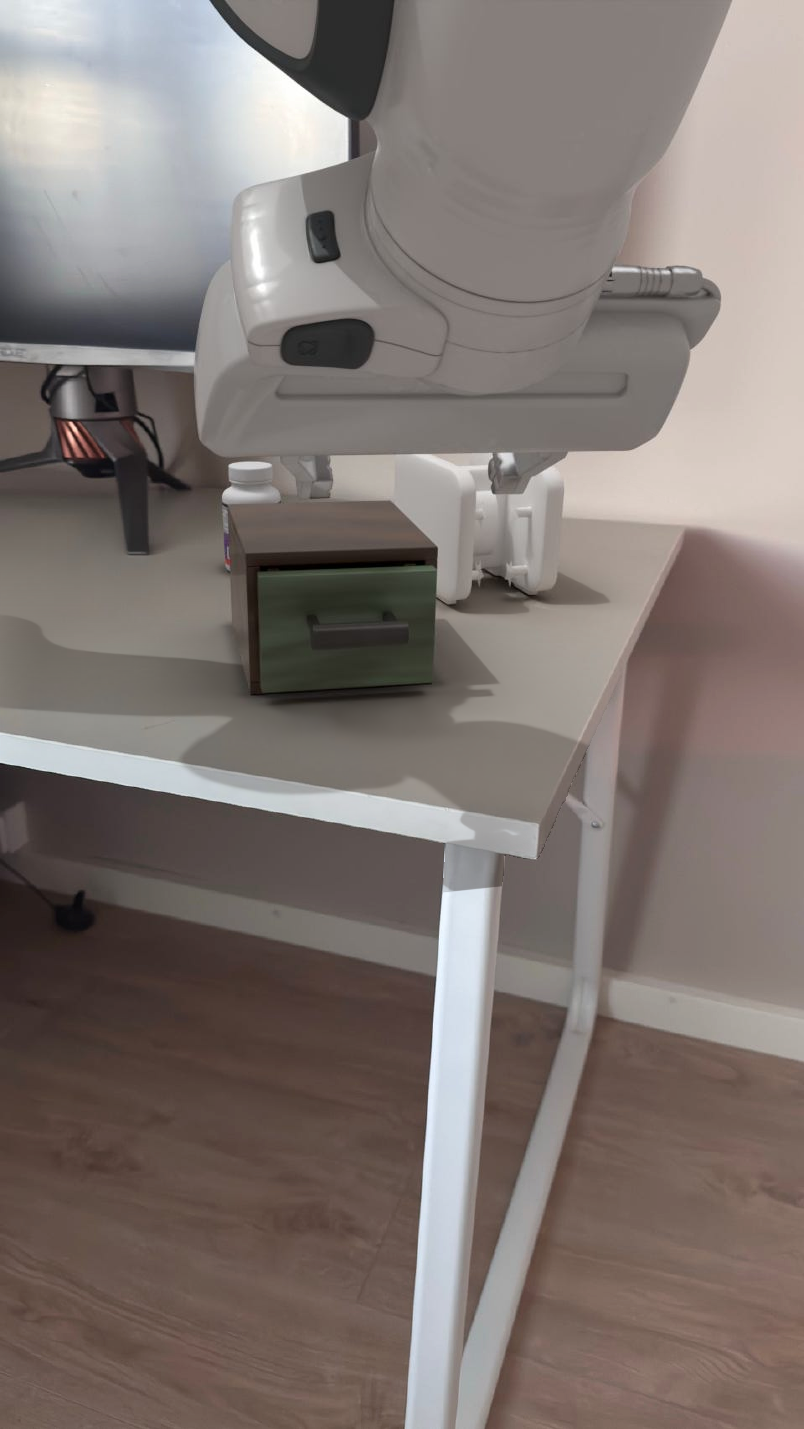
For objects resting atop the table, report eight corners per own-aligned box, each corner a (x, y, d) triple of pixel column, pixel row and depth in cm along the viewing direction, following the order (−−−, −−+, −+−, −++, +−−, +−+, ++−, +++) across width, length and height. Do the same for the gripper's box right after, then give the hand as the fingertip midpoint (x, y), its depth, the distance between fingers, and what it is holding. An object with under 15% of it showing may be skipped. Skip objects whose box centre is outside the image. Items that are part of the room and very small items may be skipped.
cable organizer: (386, 568, 103) (389, 444, 98) (485, 559, 107) (492, 440, 102) (452, 613, 90) (459, 474, 86) (562, 602, 94) (574, 468, 89)
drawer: (449, 707, 69) (455, 588, 66) (269, 719, 67) (266, 596, 64) (390, 620, 85) (392, 522, 82) (243, 627, 83) (239, 526, 80)
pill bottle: (275, 559, 105) (273, 458, 101) (288, 574, 100) (286, 469, 96) (220, 563, 103) (215, 460, 99) (230, 578, 98) (226, 471, 94)
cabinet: (433, 683, 75) (438, 546, 72) (250, 694, 73) (245, 553, 69) (388, 618, 89) (390, 500, 85) (232, 626, 86) (227, 504, 82)
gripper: (720, 209, 42) (599, 427, 55) (188, 189, 38) (190, 432, 50) (762, 338, 40) (626, 534, 52) (202, 333, 35) (201, 549, 48)
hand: (409, 484), depth 51 cm, fingers open, 8 cm apart
